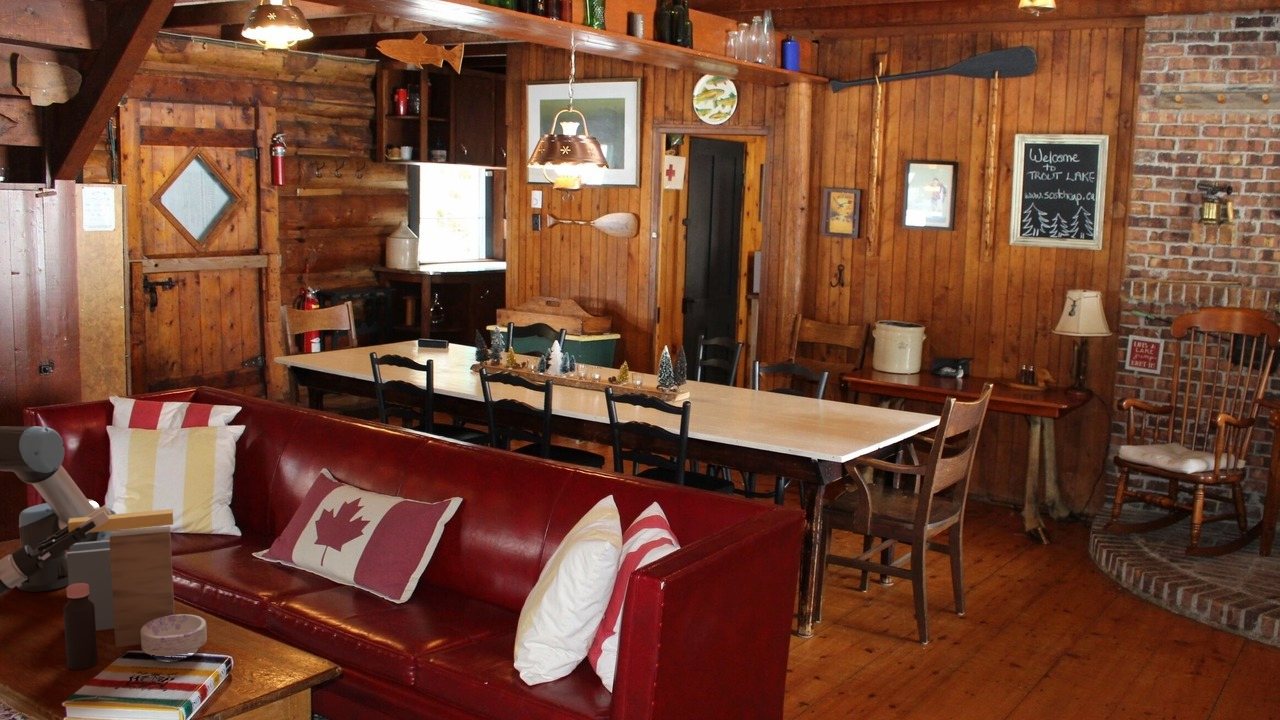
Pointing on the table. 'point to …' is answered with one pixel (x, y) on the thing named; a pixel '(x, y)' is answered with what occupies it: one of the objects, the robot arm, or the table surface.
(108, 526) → the ochre bar
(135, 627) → the walnut pedestal
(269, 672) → the table surface
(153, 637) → the paper bowls
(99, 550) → the grey u cradle
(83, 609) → the bottle
